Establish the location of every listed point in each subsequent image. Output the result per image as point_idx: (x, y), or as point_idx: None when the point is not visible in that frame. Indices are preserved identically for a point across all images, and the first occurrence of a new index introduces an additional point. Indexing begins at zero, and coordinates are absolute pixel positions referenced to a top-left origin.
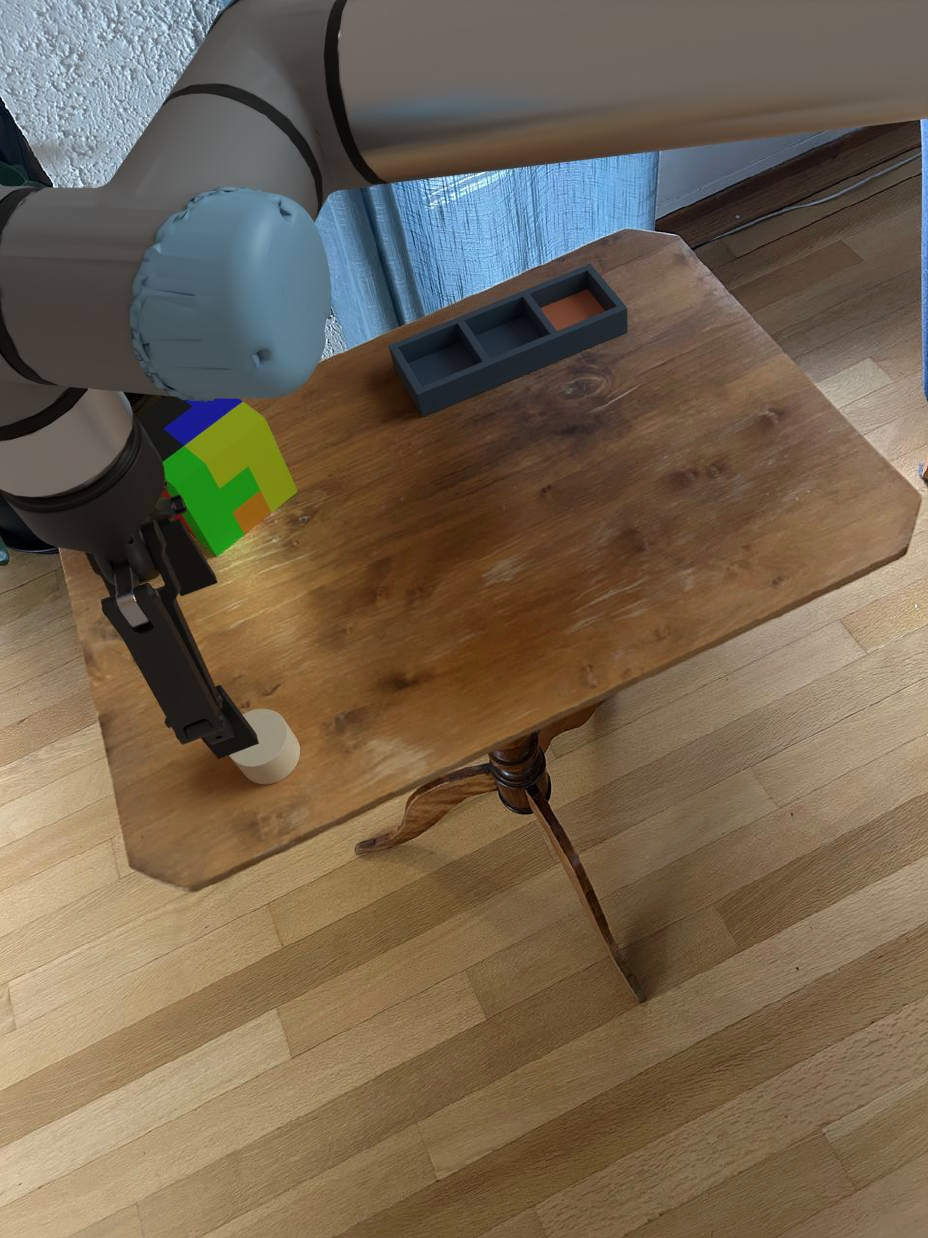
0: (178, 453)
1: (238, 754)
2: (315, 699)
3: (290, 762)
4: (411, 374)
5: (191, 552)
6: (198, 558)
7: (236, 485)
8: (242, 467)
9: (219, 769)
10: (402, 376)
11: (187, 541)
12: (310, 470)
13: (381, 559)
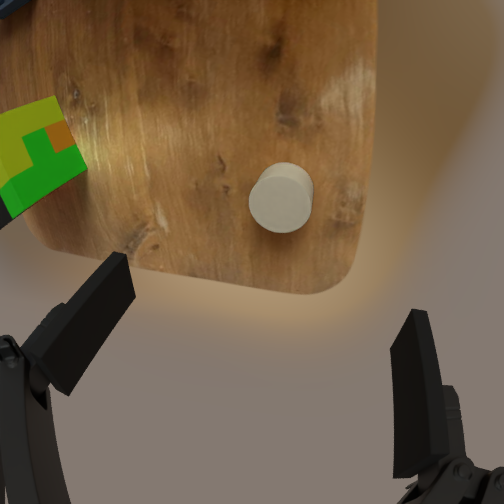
0: (3, 197)
1: (288, 225)
2: (249, 131)
3: (308, 180)
4: (6, 2)
5: (81, 317)
6: (90, 301)
7: (34, 148)
8: (21, 142)
9: None
10: (7, 10)
11: (64, 334)
12: (43, 83)
13: (133, 34)
